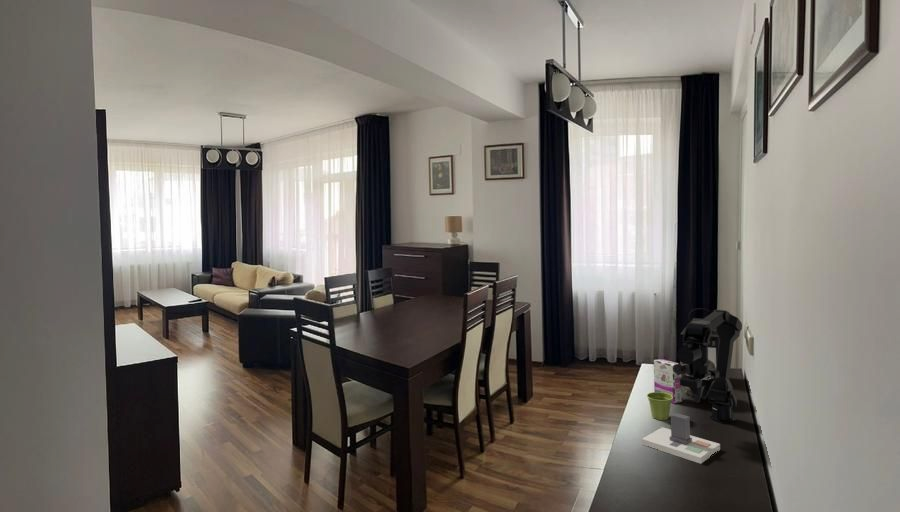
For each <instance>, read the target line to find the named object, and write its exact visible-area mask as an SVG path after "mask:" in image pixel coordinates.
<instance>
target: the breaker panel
mask: <svg viewBox="0 0 900 512" xmlns="http://www.w3.org/2000/svg"><path fill="white" fill-rule="evenodd" d="M670 436H671V428H666V427H664V426H661V427H660V428H659V429H657V430H655V431H653V432H651V433H650V434H648V435H646V436H645V437H643V438H641V445H643V446H645V447H648V446H649V447H648V448H651V447H652V449H654V448H655V449H654V450H657V449H658V451H661V452H664V453H666V454H669V455H672V456H676V457H678V458H679V457H680V458H682V459H685V460H687V461H692V462H693V463H697V464H700V465H702V464H703V463H704V462H705V461H707V460H708V459H710V458H711V457H712V456H713V455H712V454H714V453H715V452H716V453H718V452H719V451H720V450H721V443H718V442H715V441H711V440H708V439H704V438H701V437H697V436H694V435H691V434H690V437H691V438H692V441H691V442H689V443H688V444H686V445H685V444H682V443H678V442H675V441H672V440H670ZM717 451H718V452H717ZM716 453H715V454H716ZM715 454H714V455H715ZM711 455H712V456H711ZM710 456H711V457H710Z"/></svg>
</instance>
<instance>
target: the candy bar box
mask: <svg viewBox="0 0 900 512" xmlns="http://www.w3.org/2000/svg"><path fill="white" fill-rule="evenodd" d="M679 363H680V362H679ZM679 363H678V362H674V361H671V360H668V359H663V358H658V359H654V360H653V383H654V385H653V386H654V392H663V393H667V394H670V395H672V396H673V399H672V401H671V403H672V404H679V403H683V386H681V385H679V379H681V378H682V374H680V375H677V374H676V373H675V372H673V370H674V369H673V367H674V365H675V364H679Z"/></svg>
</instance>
